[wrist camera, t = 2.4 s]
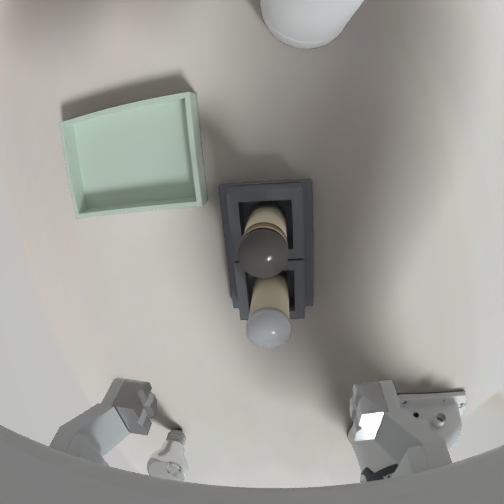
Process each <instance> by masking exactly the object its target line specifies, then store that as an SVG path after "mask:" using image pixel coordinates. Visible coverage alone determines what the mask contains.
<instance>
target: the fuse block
mask: <svg viewBox="0 0 504 504" xmlns="http://www.w3.org/2000/svg"><path fill="white" fill-rule="evenodd" d="M219 193H220V201H221V210H222V219H223V227H224V236H225V244H226V252H227V260H228V268H229V276H230V284H231V292H232V300H233V307H234V308H239V311H240V319H241V320H248V318H249V313H250V307H251V300H252V294H253V287H254V280H255V277H254V276H252V275H250V274H248V273H247V272H246V271H245V270H244V269H243V268H242V267H241V265H240V263H239V260H238V249H239V246H240V242H241V239H242V236H243V234H244V231H245V228H246V224H247V221H248V218H249V214H250V211H251V209H252V208H253V206H254V205H255V204H257V203H258V202H261V201H274V202H276V203H278V204H279V205H280V206H281V207H282V208H283V210H284V212H285V216H286V233H287V242H288V261H287V264H286V266H285V268H284V269H283V270H284V271H285V272H286V273H287V276H288V287H289V317H290V319H298V318H304V309H305V306H313V201H312V180H311V179H303V180H280V181H261V182H245V183H231V184H220V186H219Z"/></svg>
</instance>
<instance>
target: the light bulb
mask: <svg viewBox="0 0 504 504" xmlns="http://www.w3.org/2000/svg"><path fill="white" fill-rule="evenodd" d="M185 440H186V436H185V435H184V434H183V432H182V431H181V430H179V429H176V430H173V431H170V432H169V433H168V436H167V439H166V441H165V442H164V443H163V445H162V447H161V448H160V449H159V450H157V451H156V452H154V453H153V454H152V455H151V456H150V458H149V460H148V463H147V470H148V473H149V475H150V476H153V477H159V478H164V479H170V480H176V481H183V482H184V481H185V479H186V478H187V475H188V471H189V467H188V463H187V460H186V458H185V455H184V451H185V449H184V445H185Z"/></svg>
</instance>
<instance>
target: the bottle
mask: <svg viewBox="0 0 504 504" xmlns="http://www.w3.org/2000/svg"><path fill="white" fill-rule="evenodd" d="M363 1H364V0H261V2H260V7H261V11H262V16H263V20H264V22H265V25H266V26H267V28H268V29H269V31H270V32H271V34H272V35H273V36H274V37H276V38H277V39H279V40H280V41H281V42H283V43H284V44H287V45H290V46H293V47H296V48H306V49H313V48H317V47H321V46H325V45H326V44H328V43H329V42H331V41H332V40H334V39H335V38H336V37H337V36H339V35H340V33H341V32H342V30H343V29H344V27H345V26H346V24H347V23H348V21H349V20H350V18H351V17H352V16H353V14H354V13H355V12H356V10H357V9H358V8H359V7H360V5H361V4H362V3H363Z"/></svg>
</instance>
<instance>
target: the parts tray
mask: <svg viewBox="0 0 504 504" xmlns="http://www.w3.org/2000/svg"><path fill="white" fill-rule="evenodd" d="M60 131H61V139H62V146H63V153H64V159H65V165H66V171H67V177H68V182H69V187H70V192H71V197H72V202H73V206H74V211H75V215H76V219H78V218H86V217H95V216H103V215H113V214H122V213H132V212H142V211H152V210H164V209H175V208H187V207H200V206H203V205H204V204H205V202H206V201H207V200H208V197H207V189H206V180H205V172H204V163H203V154H202V145H201V136H200V126H199V116H198V106H197V95H196V93H193V92H184V93H178V94H173V95H167V96H162V97H157V98H152V99H147V100H142V101H137V102H133V103H129V104H124V105H120V106H116V107H112V108H108V109H104V110H101V111H97V112H93V113H90V114H86V115H83V116H80V117H76V118H73V119H70V120H67V121H64V122H60Z"/></svg>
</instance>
